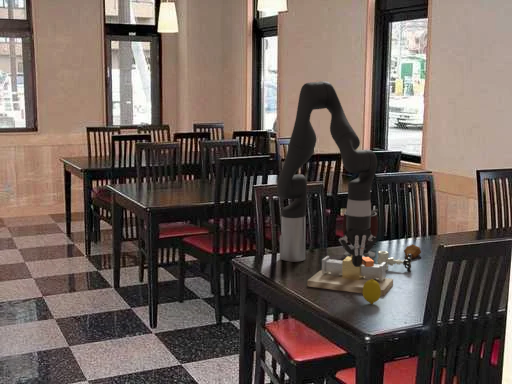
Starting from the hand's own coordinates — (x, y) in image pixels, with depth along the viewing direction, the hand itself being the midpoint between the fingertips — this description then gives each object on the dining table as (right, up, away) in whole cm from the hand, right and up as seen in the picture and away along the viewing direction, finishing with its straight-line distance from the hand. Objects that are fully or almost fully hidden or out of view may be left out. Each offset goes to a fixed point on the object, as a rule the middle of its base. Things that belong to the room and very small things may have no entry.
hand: (357, 266), depth 201 cm
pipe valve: (+1, -5, +14) cm, 15 cm away
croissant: (+30, -2, +47) cm, 56 cm away
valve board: (0, -8, +11) cm, 14 cm away
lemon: (+3, -11, -7) cm, 13 cm away
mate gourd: (+10, -2, +49) cm, 50 cm away
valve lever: (+2, +1, +6) cm, 7 cm away
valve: (+18, -5, +29) cm, 34 cm away
